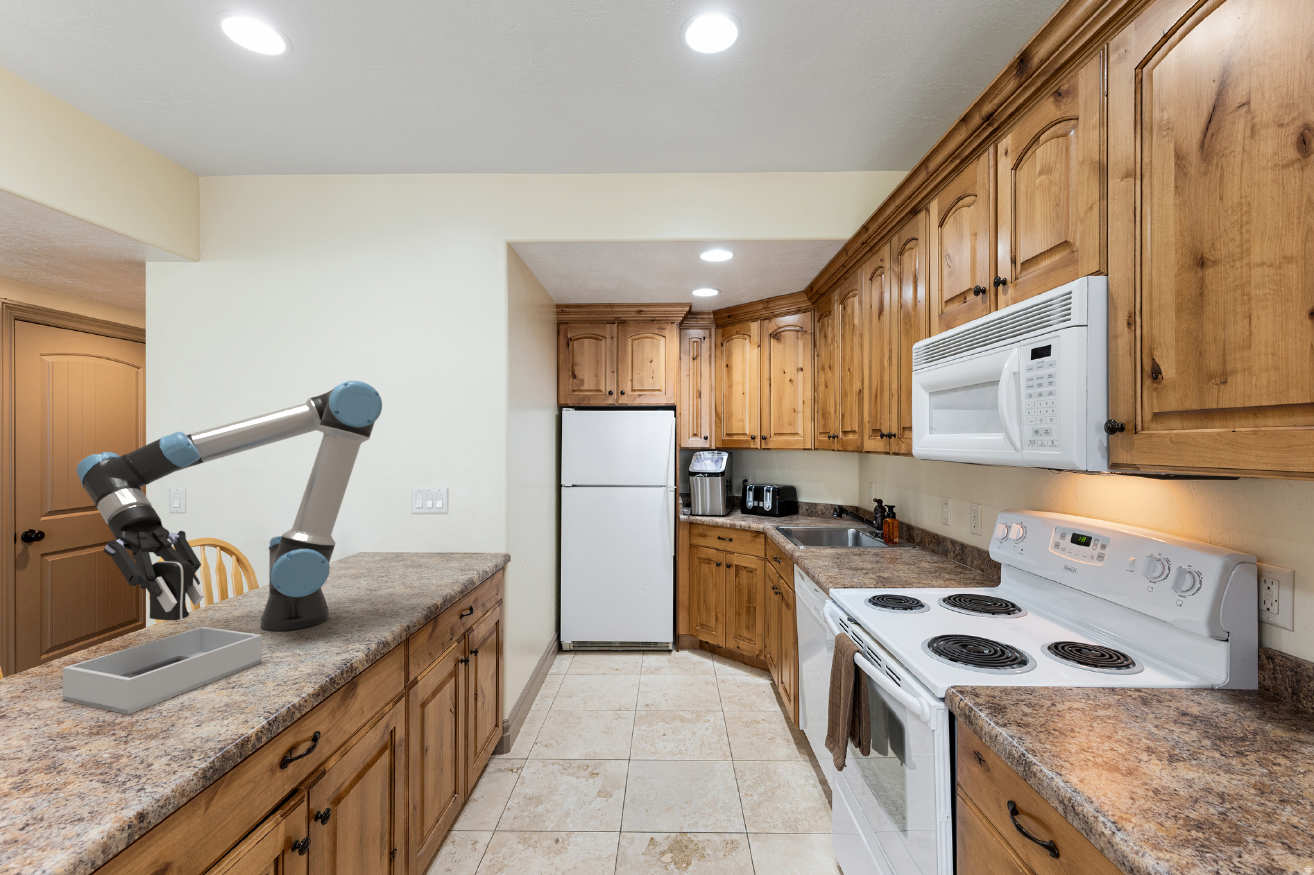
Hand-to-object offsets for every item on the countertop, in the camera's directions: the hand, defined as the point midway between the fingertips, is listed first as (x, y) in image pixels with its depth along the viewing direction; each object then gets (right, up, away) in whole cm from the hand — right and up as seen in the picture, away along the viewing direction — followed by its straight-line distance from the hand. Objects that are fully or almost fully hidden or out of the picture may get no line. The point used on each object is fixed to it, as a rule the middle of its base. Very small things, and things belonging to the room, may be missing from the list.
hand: (185, 603), depth 111 cm
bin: (-4, -16, +1) cm, 16 cm away
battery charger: (-4, -3, +1) cm, 5 cm away
